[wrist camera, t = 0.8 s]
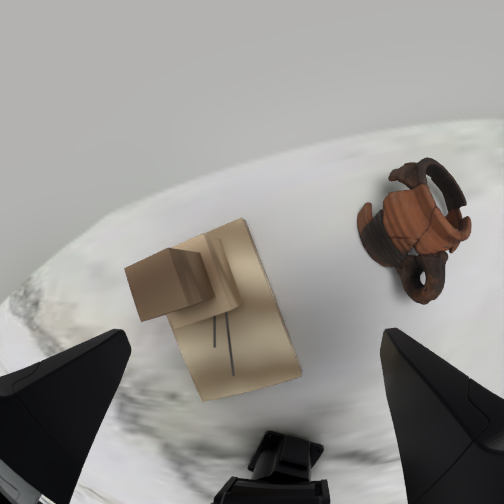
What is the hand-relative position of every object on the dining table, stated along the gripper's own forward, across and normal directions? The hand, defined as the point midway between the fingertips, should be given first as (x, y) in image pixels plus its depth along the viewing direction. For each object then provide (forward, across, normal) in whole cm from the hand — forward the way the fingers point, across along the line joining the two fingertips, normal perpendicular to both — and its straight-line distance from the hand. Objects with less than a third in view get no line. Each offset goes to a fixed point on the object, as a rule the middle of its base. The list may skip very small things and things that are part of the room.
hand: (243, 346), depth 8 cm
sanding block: (+14, +6, +4) cm, 16 cm away
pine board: (+14, +6, +8) cm, 17 cm away
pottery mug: (+17, -12, +2) cm, 21 cm away
